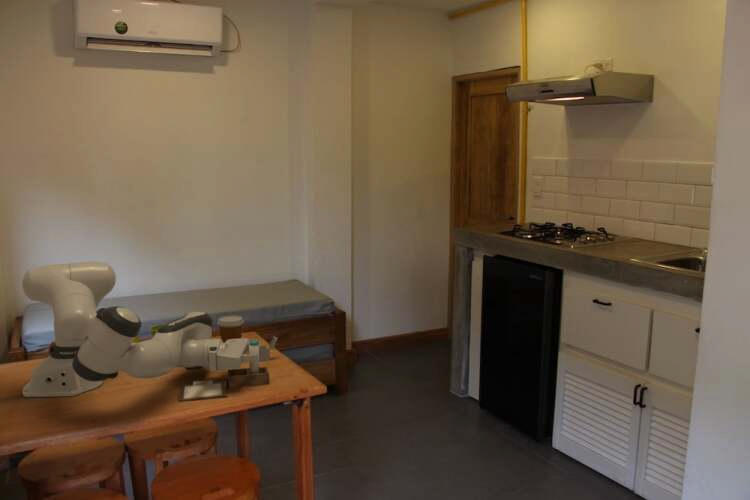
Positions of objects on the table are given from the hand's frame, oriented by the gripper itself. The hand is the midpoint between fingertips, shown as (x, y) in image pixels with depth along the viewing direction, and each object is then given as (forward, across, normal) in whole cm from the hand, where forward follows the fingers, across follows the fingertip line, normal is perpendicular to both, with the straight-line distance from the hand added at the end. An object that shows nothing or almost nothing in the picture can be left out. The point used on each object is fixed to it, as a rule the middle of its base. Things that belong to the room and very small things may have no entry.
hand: (259, 352), depth 203 cm
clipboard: (-16, +8, -10) cm, 21 cm away
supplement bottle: (-51, -31, -10) cm, 61 cm away
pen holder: (-4, +1, -10) cm, 10 cm away
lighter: (0, -21, -10) cm, 23 cm away
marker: (-2, 0, -10) cm, 10 cm away
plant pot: (-40, -33, -10) cm, 53 cm away
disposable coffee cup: (-15, -32, -10) cm, 37 cm away
